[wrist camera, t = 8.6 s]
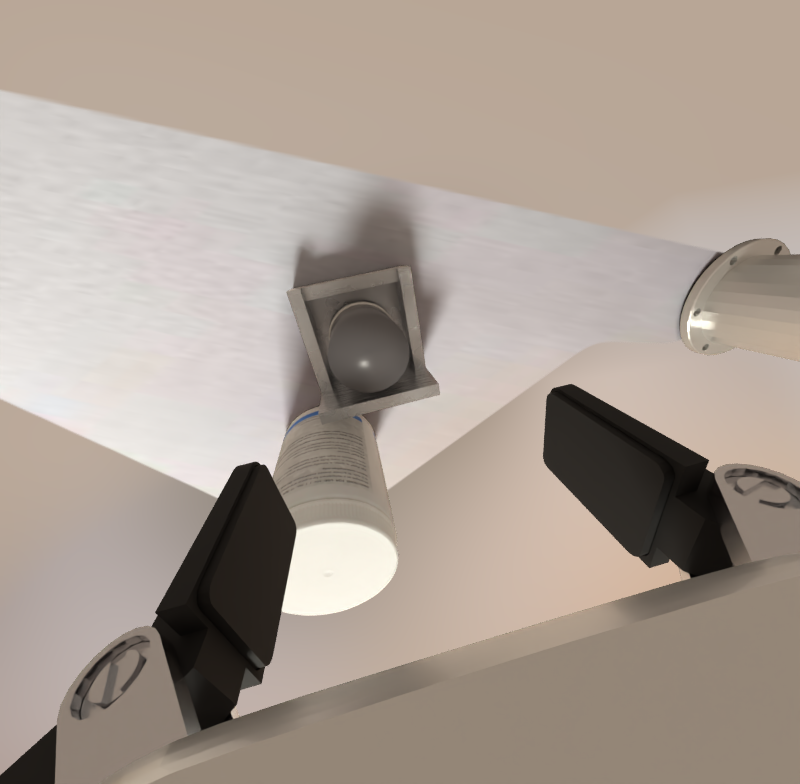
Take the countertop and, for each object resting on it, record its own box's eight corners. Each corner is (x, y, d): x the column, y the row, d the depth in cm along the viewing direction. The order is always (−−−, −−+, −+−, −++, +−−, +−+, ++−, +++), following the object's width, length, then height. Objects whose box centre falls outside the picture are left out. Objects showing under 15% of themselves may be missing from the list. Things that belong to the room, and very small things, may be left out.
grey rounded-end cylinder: (386, 293, 25) (403, 304, 18) (398, 355, 27) (416, 383, 21) (321, 307, 24) (315, 323, 18) (339, 369, 27) (339, 402, 20)
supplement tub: (265, 441, 29) (204, 587, 16) (331, 383, 28) (323, 491, 15) (333, 488, 34) (327, 634, 20) (393, 439, 32) (428, 562, 19)
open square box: (402, 265, 25) (423, 266, 18) (418, 365, 29) (439, 394, 23) (292, 288, 24) (275, 298, 18) (326, 388, 28) (322, 424, 22)
